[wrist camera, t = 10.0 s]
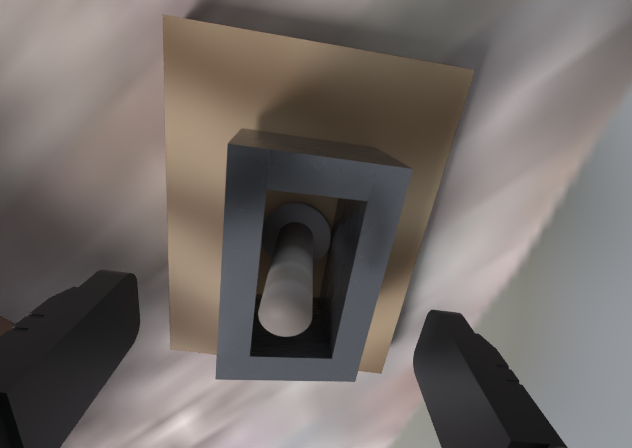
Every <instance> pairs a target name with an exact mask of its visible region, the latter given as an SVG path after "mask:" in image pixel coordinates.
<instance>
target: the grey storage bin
mask: <svg viewBox="0 0 632 448" xmlns="http://www.w3.org/2000/svg"><path fill="white" fill-rule="evenodd" d="M412 171H413V169H412V168H411V167H409V166H407V165H405V164H404V163H402V162H400V161H398V160H397V159H395V158H393V157H391V156H390V155H388V154H386V153H384V152H383V151H381V150H379V149H377V148H375V147H368V146H361V145H354V144H348V143H341V142H334V141H327V140H320V139H313V138H307V137H300V136H293V135H286V134H279V133H272V132H266V131H259V130H252V129H245V128H241V129H240V130H239V132H238V133H237V134H236V135H235V136H234V137H233V138H232V139H231V140H230V141H229V142H228V145H227V164H226V184H225V204H224V224H223V243H222V263H221V283H220V303H219V322H218V342H217V362H216V379H224V380H286V381H349V382H355V380H356V376H357V373H358V369H359V365H360V362H361V358H362V354H363V351H364V347H365V343H366V340H367V336H368V332H369V329H370V325H371V321H372V318H373V314H374V311H375V307H376V303H377V300H378V296H379V292H380V289H381V285H382V281H383V278H384V274H385V270H386V267H387V263H388V259H389V256H390V252H391V248H392V245H393V241H394V237H395V234H396V230H397V226H398V223H399V219H400V215H401V212H402V208H403V204H404V201H405V197H406V193H407V190H408V186H409V182H410V179H411V175H412ZM266 189H267V190H275V191H284V192H293V193H301V194H310V195H319V196H327V197H336V198H338V202H337V207H336V213H335V218H334V223H333V228H332V234H331V240H330V245H329V249H328V255H327V260H326V265H325V270H324V276H323V281H322V286H321V291H320V297H319V298H313V301H312V321H311V323H310V325H309V327H308V328H307V329H306V330H305V331H303V332H302V333H300V334H298V335H295V336H289V337H283V336H278V335H275V334H272V333H270V332H269V331H267V330H266V329H265V328H264V327H263V326H262V324H261V322H260V320H259V316H258V312H259V307H260V303H261V299H262V296H263V294H256V288H257V279H258V269H259V259H260V249H261V239H262V229H263V219H264V209H265V199H266Z"/></svg>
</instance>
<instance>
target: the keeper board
mask: <svg viewBox="0 0 632 448" xmlns="http://www.w3.org/2000/svg"><path fill="white" fill-rule="evenodd" d="M163 47H164V91H165V135H166V178H167V222H168V266H169V310H170V349H171V350H180V351H189V352H198V353H206V354H215V355H217V342H218V322H219V303H220V283H221V263H222V243H223V224H224V204H225V184H226V164H227V145H228V142H229V141H230V140H231V139H232V138H233V137H234V136H235V135H236V134H237V133H238V132H239V130H240V129H241V128H245V129H252V130H259V131H266V132H272V133H279V134H286V135H293V136H300V137H307V138H313V139H320V140H327V141H334V142H341V143H348V144H354V145H361V146H368V147H375V148H377V149H379V150H381V151H383V152H384V153H386V154H388V155H390V156H391V157H393V158H395V159H397V160H398V161H400V162H402V163H404V164H405V165H407V166H409V167H411V168H412V169H413V171H412V175H411V179H410V182H409V186H408V190H407V193H406V197H405V201H404V204H403V208H402V212H401V215H400V219H399V223H398V226H397V230H396V234H395V237H394V241H393V245H392V248H391V252H390V256H389V259H388V263H387V267H386V270H385V274H384V278H383V281H382V285H381V289H380V292H379V296H378V300H377V303H376V307H375V311H374V314H373V318H372V321H371V325H370V329H369V332H368V336H367V340H366V343H365V347H364V351H363V354H362V358H361V362H360V365H359V369H358V371H364V372H373V373H382V370H383V366H384V363H385V360H386V357H387V353H388V350H389V347H390V344H391V340H392V337H393V334H394V331H395V327H396V324H397V321H398V318H399V315H400V311H401V308H402V305H403V302H404V298H405V295H406V292H407V289H408V285H409V282H410V279H411V276H412V272H413V269H414V266H415V263H416V259H417V256H418V253H419V250H420V246H421V243H422V240H423V237H424V233H425V230H426V227H427V224H428V221H429V217H430V214H431V211H432V208H433V204H434V201H435V198H436V195H437V191H438V188H439V185H440V182H441V178H442V175H443V172H444V169H445V165H446V162H447V159H448V156H449V152H450V149H451V146H452V143H453V139H454V136H455V133H456V130H457V127H458V123H459V120H460V117H461V114H462V110H463V107H464V104H465V101H466V97H467V94H468V91H469V88H470V84H471V81H472V78H473V75H474V71H475V70H473V69H467V68H462V67H456V66H450V65H445V64H439V63H433V62H428V61H422V60H417V59H411V58H405V57H400V56H394V55H388V54H383V53H377V52H371V51H366V50H360V49H354V48H349V47H343V46H338V45H332V44H326V43H321V42H315V41H309V40H304V39H298V38H292V37H287V36H281V35H275V34H270V33H264V32H259V31H253V30H247V29H242V28H236V27H230V26H225V25H219V24H213V23H208V22H202V21H197V20H191V19H185V18H180V17H174V16H168V15H163ZM337 202H338V198H336V197H327V196H319V195H310V194H301V193H293V192H284V191H275V190H267V189H266V199H265V209H264V219H263V229H262V239H261V249H260V259H259V269H258V279H257V288H256V294H263V296H262V299H261V303H260V307H259V312H258V316H259V320H260V322H261V324H262V326H263V327H264V328H265V329H266V330H267V331H269V332H270V333H272V334H275V335H278V336H283V337H289V336H295V335H298V334H300V333H302V332H303V331H305V330H306V329H307V328H308V327H309V325H310V323H311V321H312V301H313V298H319V297H320V291H321V286H322V281H323V276H324V270H325V265H326V260H327V255H328V249H329V245H330V240H331V234H332V228H333V223H334V218H335V213H336V207H337Z"/></svg>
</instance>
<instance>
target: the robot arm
mask: <svg viewBox="0 0 632 448" xmlns="http://www.w3.org/2000/svg"><path fill="white" fill-rule="evenodd" d="M139 327H140V313H139V300H138V288H137V279H136V276H135V275H134V274H133V273H124V272H116V271H107V270H100V271H98V272H97V273H95V274H94V275H93V276H92V277H90V278H89V279H88V280H87V281H86V282H84V283H83V284H82V285H81V286H80V287H72V288H70V289H68V290H66V291H64V292H62V293H59V294H57V295H55V296H53V297H51V298H49V299H48V300H46V301H45V302H44V303H42V304H41V305H40V306H39V307H37V308H36V309H35V310H33V311H32V312H31V313H30V315H29V317H25V318H23V319H22V320H21V321H19V322H18V323H17V324H16V325H14V326H13V328H12V330H11V331H9V330H8V331H7V332H5V333H4V334H3V335H2V336H0V448H60V447H61V445H62V444H63V442H64V441H65V440H66V438H67V437H68V435H69V434H70V433H71V431H72V430H73V428H74V427H75V425H76V424H77V423H78V421H79V420H80V418H81V417H82V416H83V414H84V413H85V411H86V410H87V409H88V407H89V406H90V404H91V403H92V402H93V400H94V399H95V397H96V396H97V394H98V393H99V392H100V390H101V389H102V387H103V386H104V385H105V383H106V382H107V380H108V379H109V378H110V376H111V375H112V373H113V372H114V371H115V369H116V368H117V366H118V365H119V363H120V362H121V361H122V359H123V358H124V356H125V355H126V354H127V352H128V351H129V349H130V348H131V347H132V345H133V343H134V342H135V340H136V337H137V335H138V331H139ZM413 366H414V373H415V376H416V379H417V382H418V384H419V387H420V390H421V393H422V395H423V398H424V401H425V403H426V406H427V409H428V412H429V414H430V417H431V420H432V422H433V425H434V428H435V431H436V433H437V436H438V439H439V442H440V444H441V447H442V448H567V446H566V445H565V444H564V442H563V441H562V439H561V438H560V437H559V435H558V434H557V432H556V431H555V430H554V428H553V427H552V426H551V424H550V423H549V421H548V420H547V419H546V417H545V416H544V414H543V413H542V412H541V410H540V409H539V408H538V406H537V405H536V403H535V402H534V401H533V399H532V398H531V396H530V395H529V394H528V392H527V391H526V390H525V388H524V387H523V385H520V384H519V380H518V378H517V377H516V376H515V374H514V373H513V371H512V370H510V369H509V366H508V364H507V363H506V362H505V360H504V359H503V358H502V356H501V355H500V353H499V352H498V351H497V349H496V348H495V347H493V346H492V345H491V344H490V343H489V342H488V341H487V340H485V339H484V338H483V337H482V336H481V335H479V334H476V333H474V331H473V330H472V328H471V327H470V325H469V324H468V322H467V321H466V319H465V318H464V317H463V315H462V314H460V313H456V312H448V311H439V310H431V311H430V312H429V313H428V314H427V317H426V320H425V323H424V325H423V328H422V331H421V334H420V337H419V340H418V343H417V345H416V348H415V351H414V357H413Z"/></svg>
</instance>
